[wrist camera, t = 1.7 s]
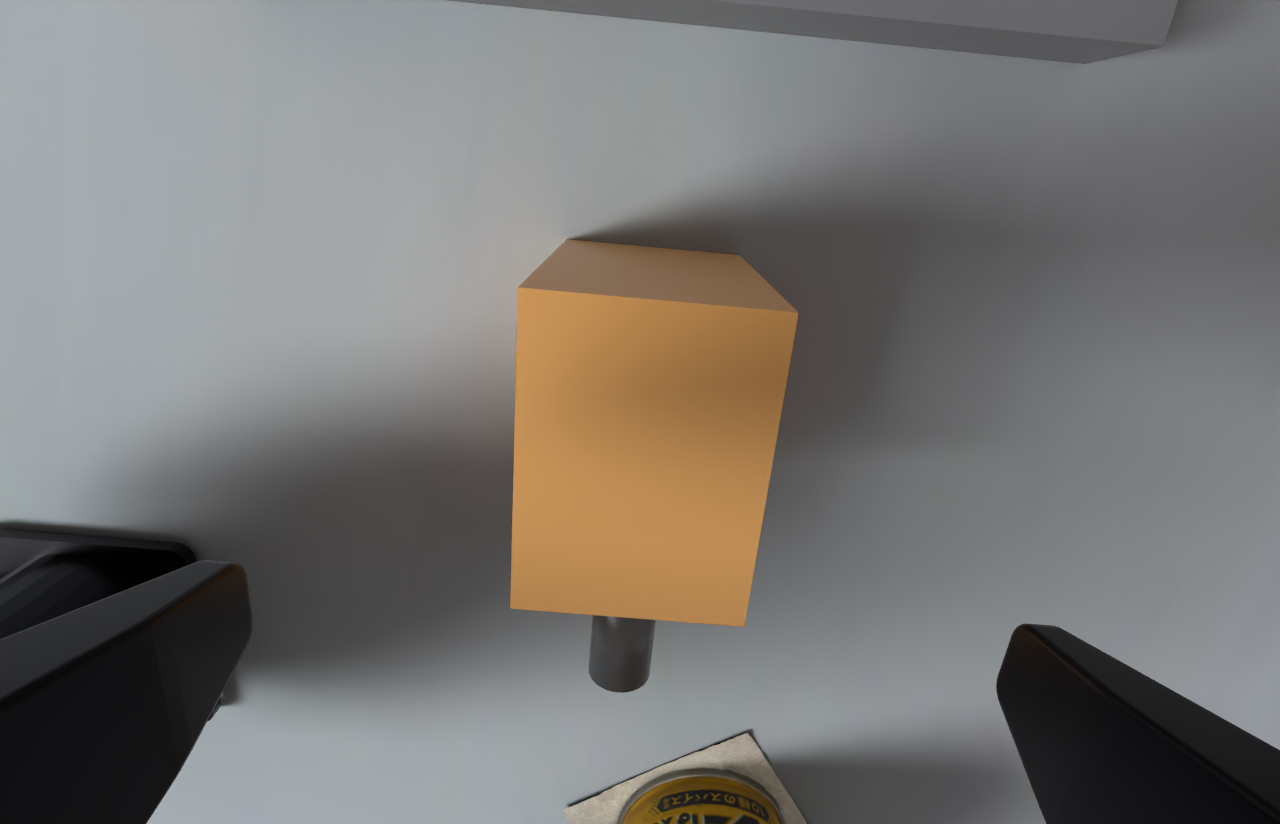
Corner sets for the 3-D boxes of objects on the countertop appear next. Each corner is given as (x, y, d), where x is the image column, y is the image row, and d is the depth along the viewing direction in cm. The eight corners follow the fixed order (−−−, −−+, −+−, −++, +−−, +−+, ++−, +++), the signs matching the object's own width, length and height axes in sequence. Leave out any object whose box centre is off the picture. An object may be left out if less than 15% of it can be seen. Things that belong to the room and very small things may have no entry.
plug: (552, 545, 20) (506, 732, 14) (567, 239, 17) (517, 287, 10) (697, 557, 20) (723, 747, 14) (739, 254, 17) (798, 312, 10)
